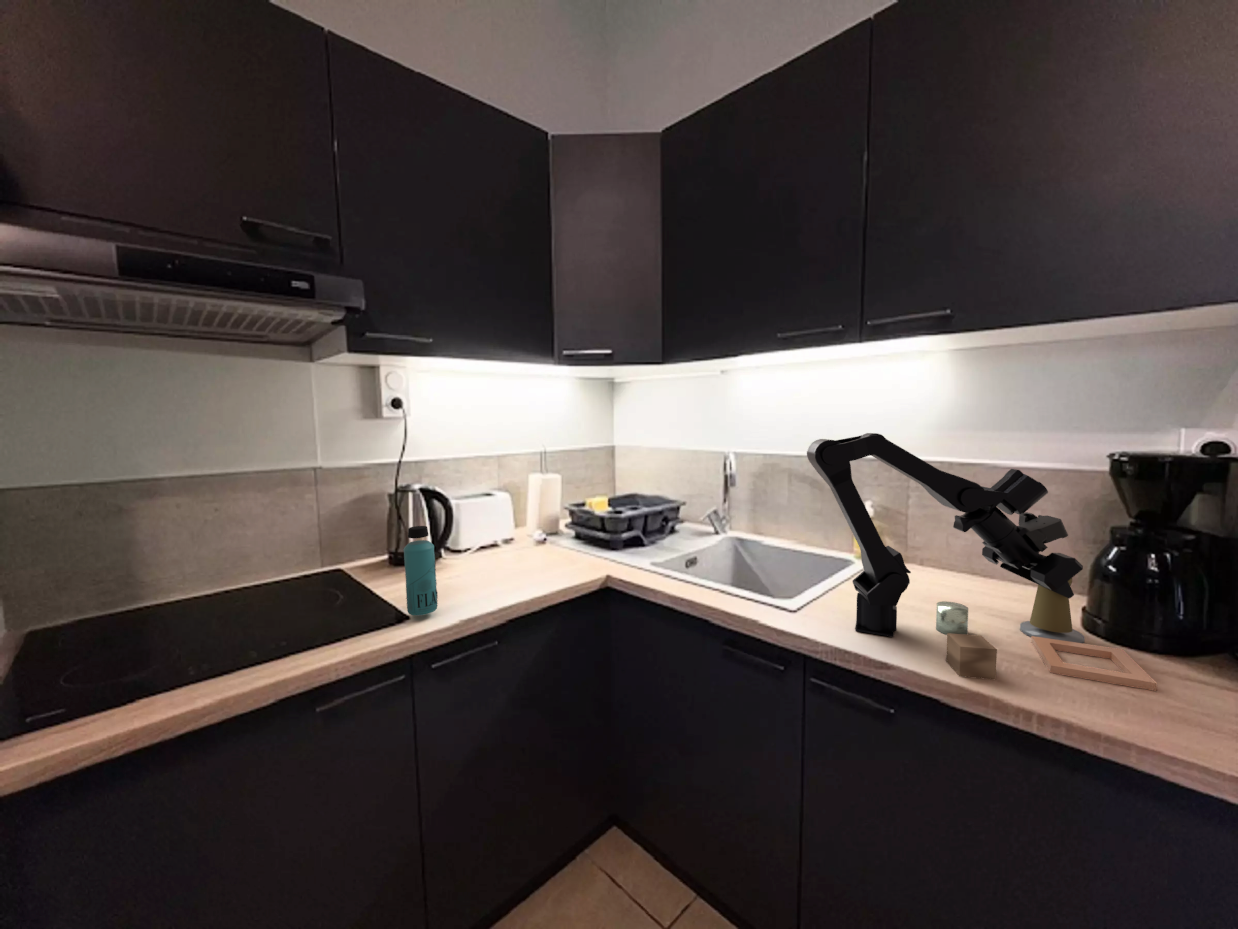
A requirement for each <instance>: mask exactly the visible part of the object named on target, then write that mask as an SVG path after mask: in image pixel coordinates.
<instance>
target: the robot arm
mask: <svg viewBox="0 0 1238 929" xmlns="http://www.w3.org/2000/svg"><path fill="white" fill-rule="evenodd" d="M807 448H808V449H807V451H806V457H807V460H808V461H809V463H810V464H811V466H812V467H813V468H814V469H815V471H816V472H817V474H819V476H820V477H821V478H822V480H823V481H824V482H825V483H826V484H827V486H829V488H830V490H831V493H832V494H833V496H834V498H835V500H836V502H837V504H838V506H839V509H840V510H841V513H842V515H843V516H844V519H845V520H846V522H847V525H848V526H849V529H850V530H851V533H852V535H853V537H854V539H855V541H856V542H857V545H858V547H859V549H860V558H861V564H862V567H863V571H862V572H860V573H859V574H858V575H857V576H856V577H855V578H854V579H852V584H853V587H854V589H855V591H856V592H857V593H856V619H855V627H854V630H855V631H856V632H859V633H867V634H872V635H876V636H877V635H878V636H883V637H891V638H894V633H895V632H896V631H897V624H898V623H897V622H898V621H897V620H898V618H897V616H898V608H897V605H898V603H899V601H900V599H901V596H902V594H903V593H905V591H906V590H907V589H908V587H909V585H910V583H911V579H910V577H909V574H911V573H912V572H911V570H910V569H908V568H907V566H906V564H905V560H904V557H903V555H902V553H901V552H899V551H898V550H896V549H895V548H893V547H892V546H890V545H885V544H884V542H883V540H882V537H881V535H880V534H879V532H878V530H877V527H876V525H875V523H874V521H873V519H872V518H871V515H870V513H869V512H868V509H867V507H866V506H865V503H864V501H863V500H862V497H861V495H860V494H859V491H858V489H857V487H856V485H855V483H854V481H853V478H852V477H853V476H852V466H851V462H853V461H857V460H859V459H863V458H867V457H868V456H871V457H873V458H874V459H877V460H878V461H880V462H881V463H883V464H885V465H886V466H888V467H890V468H892V469H893V470H895V471H897V472H898V473H900V474H902V475H904V476H906V477H907V478H909V479H910V480H912V481H914V482H916V483H918V485H920V486H921V487H923V488H924V489H925V491H926V492H927V493H928V494H929V495H930V496H931V497H932V498H934V499H935V500H936V501H937V502H939V504H941V505H942V506H944V507H947V508H949V509H952V510H956V511H959V512H962V513H963V514H961V515H954V522H953V526H952V527H953V529H955V530H957V531H960V532H962V533H967V532H968V531H969V530H970V529H971V531H973V532H974V533H975V534H976V535H977V536H978V537H979V538H980V539H981V540H982V542H981V544H983V546H984V547H982V549H981V550H982V551H981V556H983V558H985V559H986V560H987V561H988V563H992V564H994V565H996V566H997V565H998V564H999V563H1000V562H1001V564H1000V565H999V566H1000V568H1001V569H1003V570H1005V571H1008V572H1010V573H1012V574H1015V575H1017V576H1018V577H1021V578H1023V579H1026V580H1027V581H1030V582H1032V583H1033V584H1036V585H1037V586H1038V585H1040V586H1042V587H1045V588H1047V589H1049V590H1051V591H1053V592H1056V593H1058V594H1060V595H1062V596H1065V597H1067V598H1069V599H1071V598H1073V597H1074V595H1075V593H1074V592H1073V589H1072V587H1071V586H1070V585H1069V583H1068V581H1069V580H1070V579H1071V578H1072V579H1073V578H1074V577H1075V576H1076V575H1078V574H1079V573H1080V572H1081V571H1082V570H1084V565H1083V564H1082V563H1081V562H1080V561H1079V560H1078V559H1076V558H1075V557H1072V556H1069V555H1067V554H1064V553H1061V552H1050V553H1049V554H1048V555H1044V554H1041V553H1043V552H1045V550H1047V549H1048V546H1047V545H1046V544H1049V543H1051V542H1053V541H1057V540H1059V539H1065V538H1067V537H1069V534H1068V531H1067V529H1066V527H1065V524H1064V523H1063V520H1062V519H1061V518H1059V517H1056V516H1055V517H1054V516H1051V515H1042V514H1039V515H1035V514H1034V513H1031V512H1028V511H1029V509H1031V508H1032V507H1033V506H1034V505H1035V504H1037V503H1038V502H1040V500H1042V499H1043V498H1044V497H1045V496H1046V495H1048V493H1049V491H1048V488H1047V487H1046V486H1045V485H1044V484H1043V483H1042V482H1040V481H1037V480H1036V479H1034V478H1033V477H1031V476H1030V475H1027V474H1026V473H1024V472H1022V470H1021V469H1015V468H1011V469H1009V470H1008V471H1006V473H1005V474H1004V475H1003V476H1002V477H1001V478H1000V479H999V480H998V481H996V482H995V483H994V484H993V485H992V486H991V487H986V486H981V485H980V484H979V483H977V482H975V481H972V480H969V479H966V478H963V477H961V476H959V475H955V474H953V473H949V472H946V471H943V470H941V469H939V468H937V467H935V466H933V465H932V464H930V463H928V462H927V461H925V460H923V459H921V458H919V457H918V456H916V455H915V454H913V453H911V452H909V451H908V450H906V449H904V448H902V447H901V446H899V445H897V444H895V443H894V442H892V441H890V440H888V439H887V438H886V437H885V436H884V435H883V434H881V433H878V432H877V433H875V432H873V433H872V432H866V433H864V434H861V435H857V436H852V437H846V438H841V439H836V440H835V439H829V438H828V439H827V438H819V439H815V440H814V441H812V442H811V443H810V445H809V446H808V447H807ZM1006 514H1007V515H1010V516H1012V515H1014V514H1017V515H1019V516H1018V525H1016V524H1015V522H1013V521H1012V520H1011V519H1010V518H1009V517H1008V516H1007V515H1006Z"/></svg>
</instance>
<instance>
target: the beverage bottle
mask: <svg viewBox="0 0 1238 929" xmlns="http://www.w3.org/2000/svg"><path fill="white" fill-rule="evenodd" d="M426 537H429V529H428V526H426V525H416V526H411V527H409V528H408V529H407V538H408V539H421V540H414V541H410V542H408V543H407V544H406V545H405V546H404V548H403V558H404V559H403V561H404V575H405V593H406V594H405V595H406V598H405V599H406V609H407V610H406V611H407V613H408V614H409V615H411V616H423V615H429V614H431V613H433V612H435V611H436V610H438V599H439V598H438V597H439V596H438V588H437V585H438V582H437V581H438V580H437V574H436V572H437V567H436V566H437V563H436V555H435V545H434V544H433V543H432V542H431V541H430V540H426V539H423V540H422V538H426Z"/></svg>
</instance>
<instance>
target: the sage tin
mask: <svg viewBox="0 0 1238 929" xmlns="http://www.w3.org/2000/svg"><path fill="white" fill-rule="evenodd" d="M935 615H936V616H935V618H936V619H935V630H936V631H937V632H939V633H940V634H943V635H945V636H947V633H952V634H967V635H968V634H969V632H968V630H969V607H968V606H967V605H964V604H963V603H962V604H961V603H959V602H955V601H946V600H945V601H938V602H937V603H936V614H935Z"/></svg>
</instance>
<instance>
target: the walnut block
mask: <svg viewBox="0 0 1238 929" xmlns="http://www.w3.org/2000/svg"><path fill="white" fill-rule="evenodd" d="M945 654H946V655H945V656H946V657H945V658H946V660H945V661H946V663H947V664H948V665H949V666H950V668H951V669H952V670H953V671H954V672H955V673H956V674H957V676H958V675H959V676H958V677H960V676H966V677H965V678H971V677H976V678H975V679H982V678H984V679H986V680H994V679H996V680H997V662H998V661H997V657H998V655H997V654H998V649H997V648H996V647H995V646H994V645H993V644H992V643H991V642H990V641H988V640H987V639H986V638H985V637H984V636H983V635H980V634H979V635H977V634H968V633H967V634H952V633H947V635H946V653H945Z"/></svg>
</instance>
